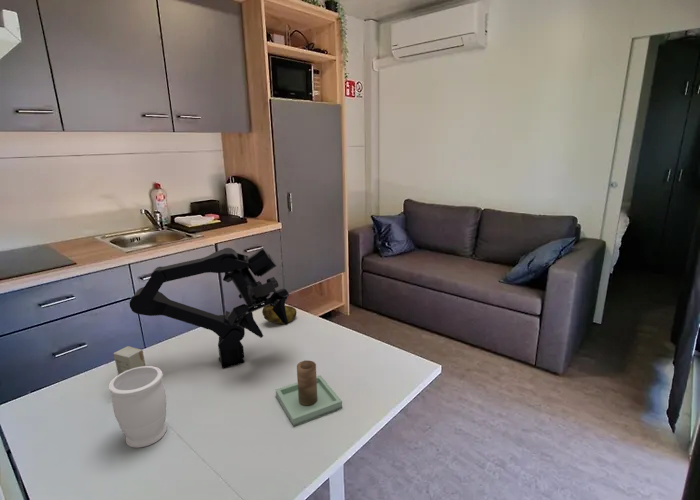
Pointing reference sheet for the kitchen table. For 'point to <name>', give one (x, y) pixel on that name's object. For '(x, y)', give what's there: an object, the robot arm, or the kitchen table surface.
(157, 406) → the jar
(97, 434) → the kitchen table surface
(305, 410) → the tray
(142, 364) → the skincare box
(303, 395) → the mill
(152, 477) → the kitchen table surface
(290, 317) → the potato
